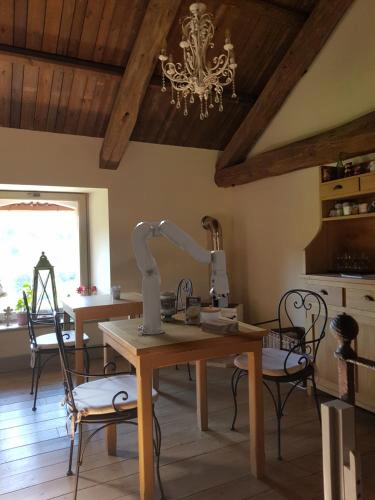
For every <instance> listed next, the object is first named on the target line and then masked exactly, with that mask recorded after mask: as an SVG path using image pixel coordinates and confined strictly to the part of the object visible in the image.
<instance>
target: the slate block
mask: <svg viewBox="0 0 375 500" xmlns="http://www.w3.org/2000/svg"><path fill="white" fill-rule="evenodd" d="M217 300H218V307H214V308H221V309H224V308H228V307H229V300H228V297H227V298H226V297H222V296H218V299H217ZM211 307H213V299H212V298H211Z"/></svg>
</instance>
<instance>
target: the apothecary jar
mask: <svg viewBox="0 0 375 500" xmlns="http://www.w3.org/2000/svg"><path fill="white" fill-rule="evenodd" d="M177 299H178V297H177V295H176V294H175V292H174V291H173V290H164V291H160V303H161V317H162V316H163V318H161V322H163V321H170V322H175V321H177V320H176V318H175V317H173V316H175V315H177V313H178V309H177V307H176V300H177Z"/></svg>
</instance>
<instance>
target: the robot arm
mask: <svg viewBox="0 0 375 500" xmlns="http://www.w3.org/2000/svg"><path fill="white" fill-rule="evenodd" d="M163 237H165V238H166V239H168V240H169V241H170V242H172V243H173V244H174V245H175V246H177V247H178V248H179V249H180V250H182V251H183V252H185V253H187V255H189V256H190V257H192V259H194V260H195V261H197V262H198V263H199V264H201V265H203V266H204V265H205V266H206V265H209V264H211V279H210V291H209V293H208V295H209V296H210V297H211V300H212V299H213V307H218V300H217V299H218V297H219V296H220V295H221V297H226V298H228V295H229V293H230V289H229V285H230V284H229V279H228V276H227V269H226V267H227V264H226V263H227V262H226V251H225V250H223V249H216V250H207V249H206V248H205V247H203V246H202V245H201V244H200V243H198V242H197V241H196V240H194V239H193V238H192V237H191V235H190V234H188V233H187V232H185V231H184V230H183V229H181V228H180V227H179V226H178V225H177V224H175V223H174V222H173V221H171V220H169V219H165V220H162V221H153V222H148V221H142V222H139V223H138V224H137V225H136V226H135V227H134V228H133V230H132V232H131V237H130V242H131V246H132V250H133V254H134V257H135V260H136V265H137V268H138V270H139V271H140V272H141V274H142V281H141V293H142V314H143V317H142V318H143V321H142V322H143V324H141V326H139V327H136V329H135V331H136V332H139V331H140V333H141V334H142V335H149V336H150V335H159V334H163V333H164V332H165V329H164V328H162V321H161V319H162V318H161V317H162V315H161V303H160V292H161V284H162V277H161V273H160V272H159V267H158V264H157V262H156V261H157V260H156V258H154V256H153V255H152V253H151V251H150V247H149V243H148V238H149V239H150V238H163Z"/></svg>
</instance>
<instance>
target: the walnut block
mask: <svg viewBox="0 0 375 500" xmlns="http://www.w3.org/2000/svg"><path fill="white" fill-rule="evenodd" d="M239 328H240V327H239V321H233V320H229V319H221V318H220V319H217V320H212V321H207V322H203V321H201V332H205V333H210V334H213V333H214V334H215V335H219V336H223V335H226V333H227V334H231V333H235V332H239V331H238V330H239ZM234 331H235V332H234ZM230 332H231V333H230ZM222 334H223V335H222Z"/></svg>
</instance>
